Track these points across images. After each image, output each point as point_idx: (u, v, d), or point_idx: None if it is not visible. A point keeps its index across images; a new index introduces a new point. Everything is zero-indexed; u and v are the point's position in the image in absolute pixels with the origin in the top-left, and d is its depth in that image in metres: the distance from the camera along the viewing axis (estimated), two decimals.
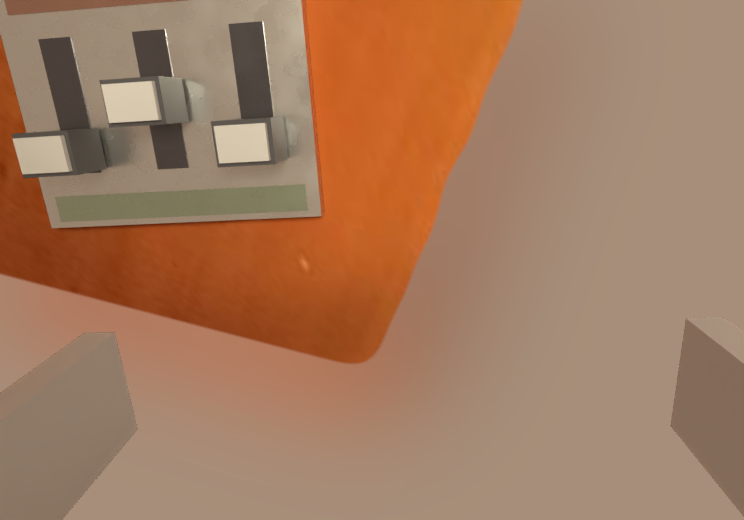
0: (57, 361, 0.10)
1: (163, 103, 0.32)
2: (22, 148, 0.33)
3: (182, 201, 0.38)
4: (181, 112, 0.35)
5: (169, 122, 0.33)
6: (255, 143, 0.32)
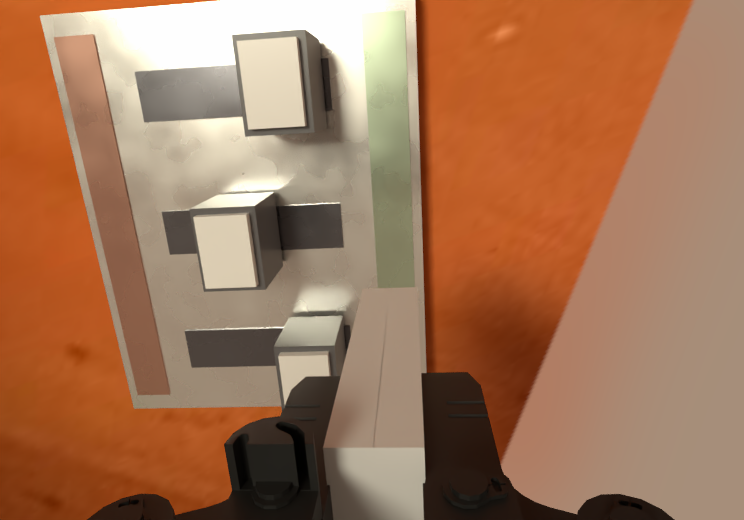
0: (370, 308, 0.12)
1: (226, 207, 0.22)
2: None
3: (389, 218, 0.26)
4: (255, 196, 0.24)
5: (255, 204, 0.22)
6: (269, 59, 0.20)
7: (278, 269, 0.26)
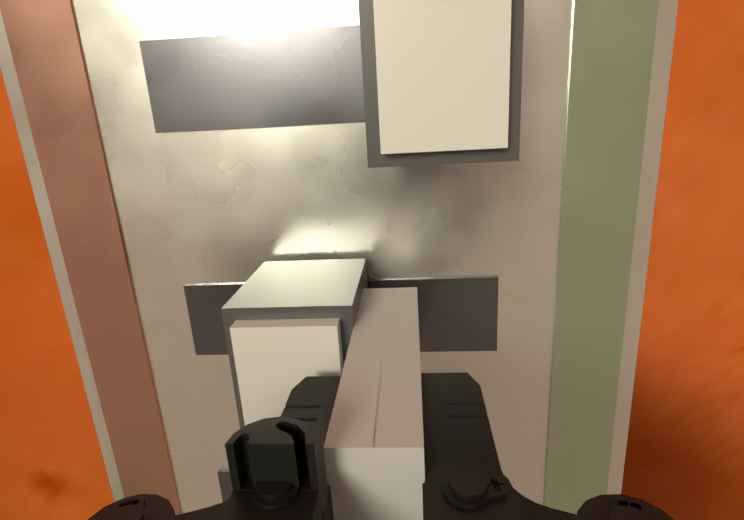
0: (371, 308, 0.12)
1: (295, 306, 0.11)
2: None
3: (583, 304, 0.15)
4: (337, 270, 0.13)
5: (350, 298, 0.11)
6: None
7: None
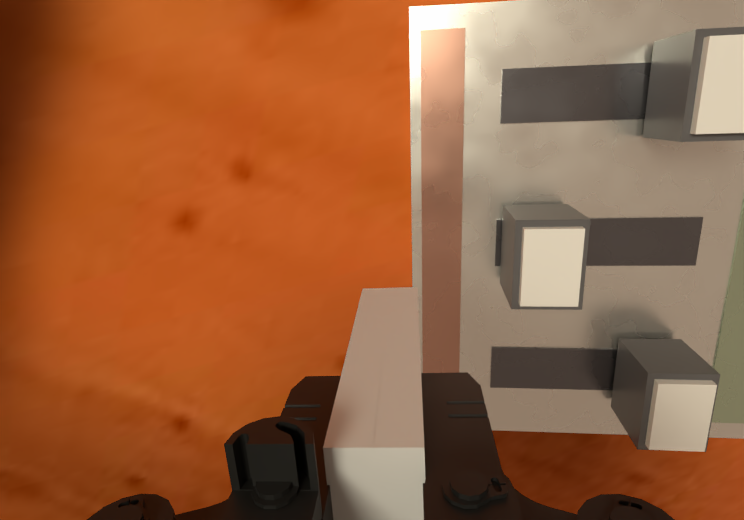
0: (370, 308, 0.12)
1: (557, 219, 0.20)
2: (666, 441, 0.22)
3: None
4: (557, 208, 0.23)
5: (584, 217, 0.21)
6: (743, 57, 0.18)
7: None
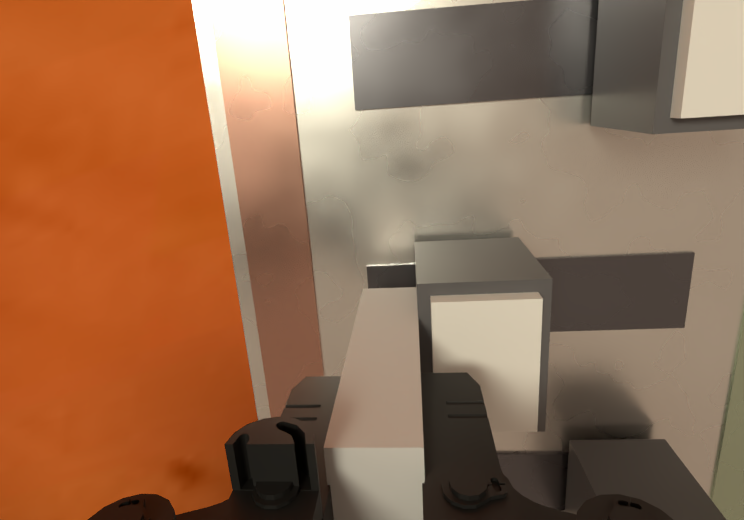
0: (371, 308, 0.12)
1: (493, 280, 0.11)
2: None
3: None
4: (500, 248, 0.13)
5: (543, 272, 0.11)
6: None
7: None
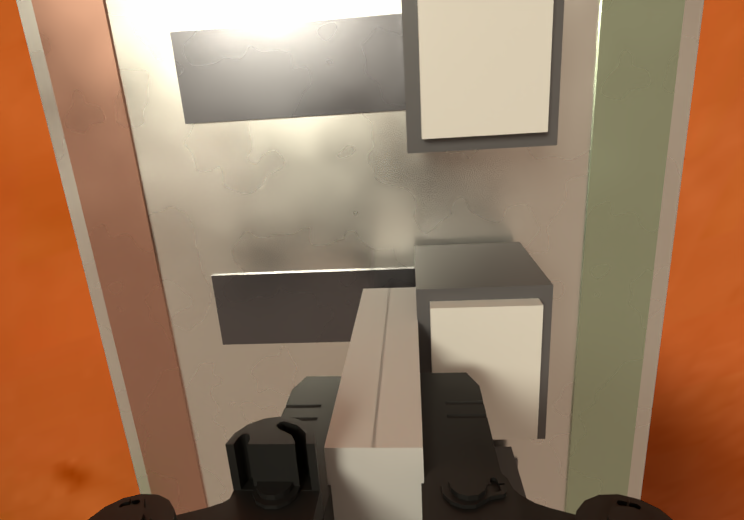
0: (371, 308, 0.12)
1: (492, 286, 0.11)
2: None
3: (608, 291, 0.15)
4: (500, 252, 0.13)
5: (543, 278, 0.11)
6: None
7: None
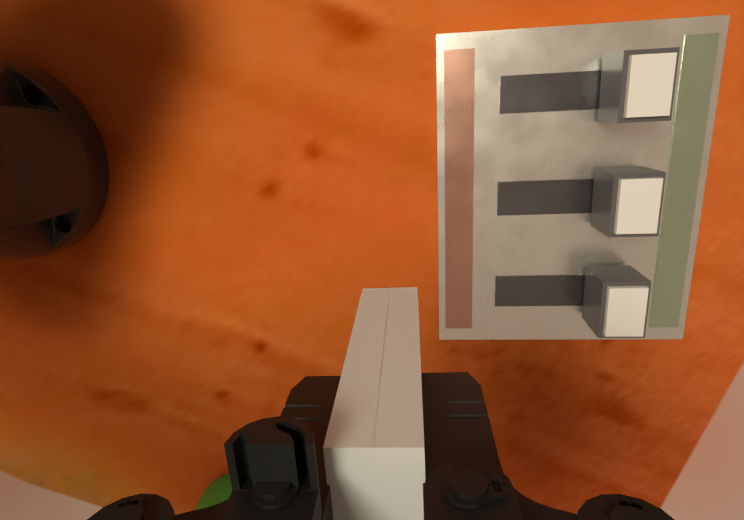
0: (371, 308, 0.12)
1: (643, 172, 0.30)
2: (616, 329, 0.33)
3: (678, 189, 0.34)
4: (636, 167, 0.32)
5: (661, 171, 0.30)
6: (653, 68, 0.28)
7: None
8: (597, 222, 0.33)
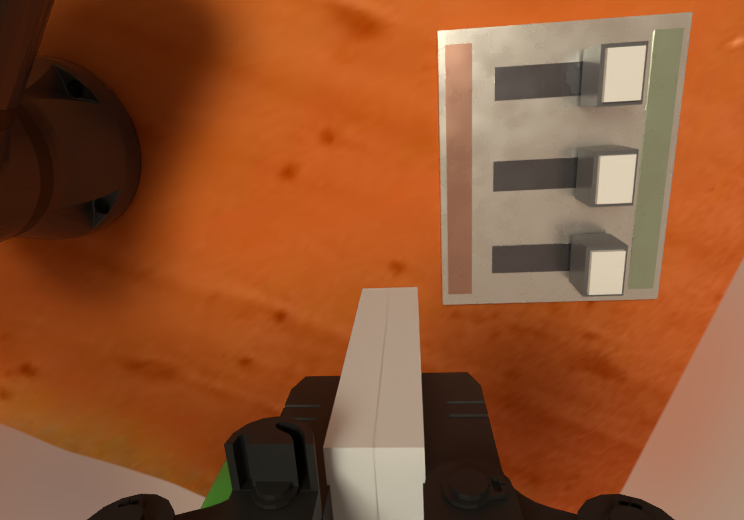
0: (371, 308, 0.12)
1: (619, 150, 0.35)
2: (598, 288, 0.37)
3: (651, 165, 0.39)
4: (614, 146, 0.37)
5: (634, 148, 0.35)
6: (626, 59, 0.32)
7: None
8: (581, 195, 0.38)
